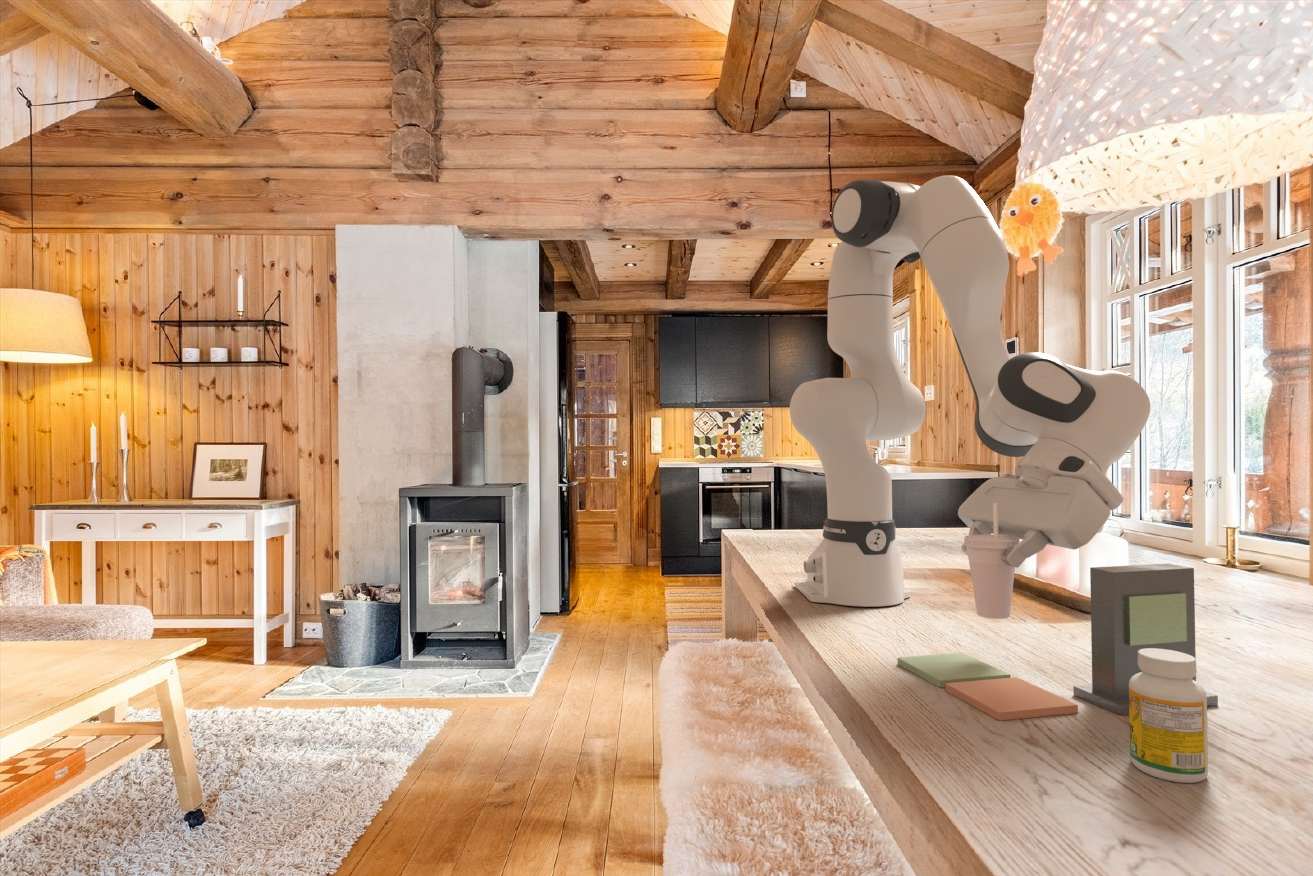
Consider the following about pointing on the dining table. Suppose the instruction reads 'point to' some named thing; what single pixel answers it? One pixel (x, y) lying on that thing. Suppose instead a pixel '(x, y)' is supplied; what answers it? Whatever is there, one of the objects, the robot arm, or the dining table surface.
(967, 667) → the sage pad
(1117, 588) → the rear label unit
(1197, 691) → the supplement bottle
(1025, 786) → the dining table surface
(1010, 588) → the smoothie
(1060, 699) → the terracotta pad
